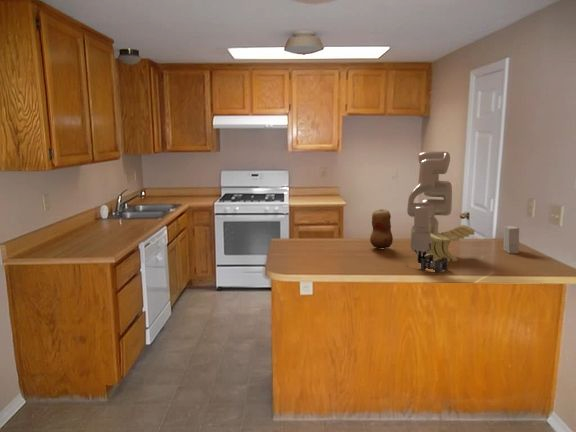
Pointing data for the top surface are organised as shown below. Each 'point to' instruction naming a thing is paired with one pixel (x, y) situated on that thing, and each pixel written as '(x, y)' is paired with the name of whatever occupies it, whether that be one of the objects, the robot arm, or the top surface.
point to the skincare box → (511, 239)
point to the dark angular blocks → (437, 264)
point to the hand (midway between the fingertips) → (421, 262)
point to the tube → (433, 265)
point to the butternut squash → (381, 229)
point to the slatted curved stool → (447, 241)
